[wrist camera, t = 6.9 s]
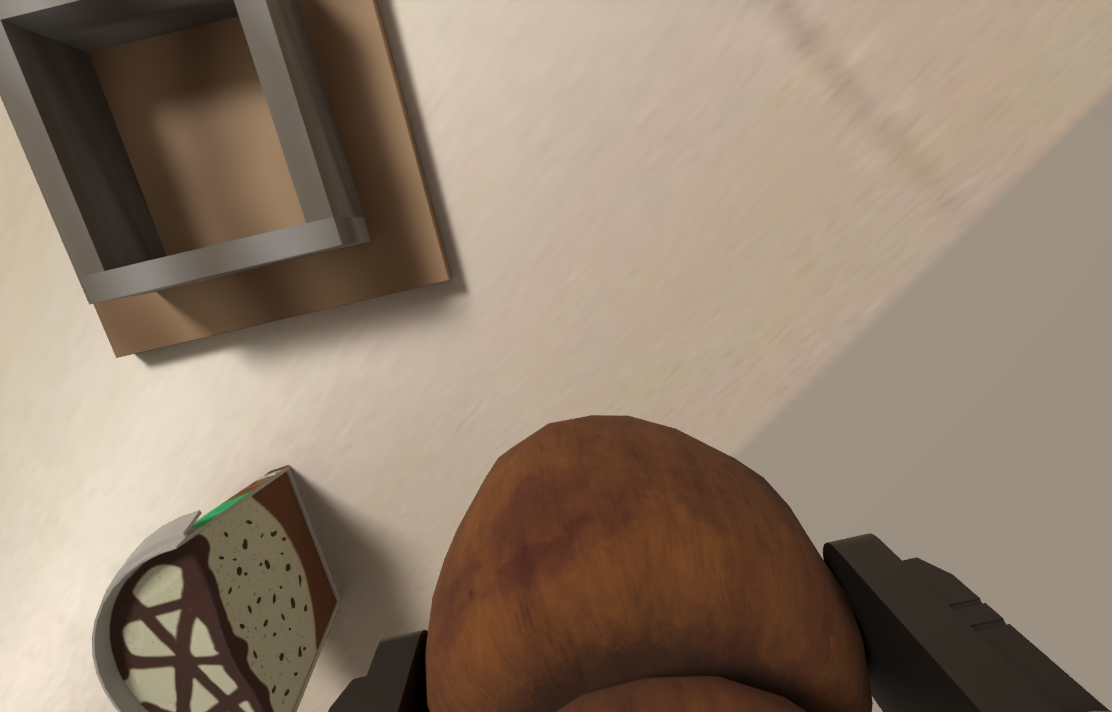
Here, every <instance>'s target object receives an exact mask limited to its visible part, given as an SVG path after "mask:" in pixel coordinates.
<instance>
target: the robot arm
mask: <svg viewBox="0 0 1112 712" xmlns="http://www.w3.org/2000/svg"><path fill="white" fill-rule="evenodd" d="M823 558H824V562H825V563H826V565H827V566H828V568H829V569H830V571H831V572H832V573H833V575H834V576H835V578H836V579H837V581H838V582H839V584H840V585H841V587H842V588H843V589H844V591H845V593H846V595H847V597H848V599H849V601H850V604H851V607H852V610H853V613H854V616H855V619H856V621H857V624H858V627H859V630H860V633H861V636H862V639H863V642H864V649H865V656H866V663H867V669H868V676H869V683H870V689H871V695H872V696H873V698H874V699H875V701H876V702H877V704H878V705H879V707H880V708H881V709H882V711H883V712H1111V711H1109V710H1108V709H1107V708H1106V707H1105V706H1103V705H1102V704H1101V703H1100V702H1099V701H1098V700H1096V699H1095V698H1094V697H1093V696H1092V695H1091V694H1090V693H1089V692H1087V691H1086V690H1085V689H1084V688H1083V687H1082V686H1080V685H1079V684H1078V683H1077V682H1076V681H1075V680H1074V679H1072V678H1071V677H1070V676H1069V675H1068V674H1067V673H1065V672H1064V671H1063V670H1062V669H1061V668H1060V667H1058V666H1057V665H1056V664H1055V663H1054V662H1052V661H1051V660H1050V659H1049V658H1048V657H1047V656H1046V655H1045V654H1044V653H1042V652H1041V651H1040V650H1039V649H1038V648H1036V647H1035V646H1034V645H1033V644H1032V643H1031V642H1029V640H1027V639H1026V638H1025V637H1024V636H1023V635H1022V634H1020V633H1019V632H1018V631H1017V630H1016V629H1015V628H1013V627H1012V626H1011V625H1010V624H1008V625H1006V623H1005V622H1004V620H1003V618H1002V617H1001V616H1000V615H999V614H997V613H996V612H995V611H994V610H993V609H992V608H991V607H989V606H988V605H987V604H986V603H984V604H983V603H982V602H981V600H980V598H979V597H978V596H977V595H976V594H974V593H973V592H972V591H971V590H970V589H969V588H967V587H966V586H965V585H964V584H963V583H962V582H961V581H959V580H958V579H957V578H956V577H955V576H954V575H952V574H950V573H948V572H946V571H944V570H942V569H940V568H938V567H936V566H934V565H931V564H929V563H927V562H925V561H923V560H921V559H919V558H912V559H908V560H903V561H902V560H901V559H900V558H899V557H898V556H896V555H895V554H894V553H893V552H892V551H891V550H890V549H889V548H888V547H887V546H886V545H885V544H884V543H883V542H882V541H881V540H880V539H879V538H877V537H876V536H875V535H873V534H865V535H860V536H856V537H851V538H847V539H842V540H837V541H833V542H828V543H825V544H824V547H823ZM427 636H428V631H427V630H422V631H418V632H413V633H409V634H404V635H400V636H395V637H391V638H386V639H383V640H382V641H381V642H380V643H379V645H378V647H377V650H376V653H375V655H374V658H373V661H372V663H371V666H370V669H369V671H368V674H367V676H365V677H361V678H356V679H353V680H352V681H351V682H350V684H349V685H348V686H347V687H346V689H345V690H344V691H343V692H342V693H341V695H340V696H339V697H338V698H337V700H336V701H335V702H334V703H333V705H332V706H331V707H330V709H329V711H328V712H429V709H428V706H427V691H426V676H425V660H424V659H425V651H426V644H427Z"/></svg>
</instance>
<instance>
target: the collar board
mask: <svg viewBox="0 0 1112 712" xmlns="http://www.w3.org/2000/svg"><path fill="white" fill-rule="evenodd" d="M0 96H1V99H2V101H3V103H4V106H5V108H6V110H7V113H8V115H9V117H10V120H11V122H12V124H13V127H14V129H15V131H16V134H17V136H18V138H19V141H20V143H21V145H22V148H23V150H24V152H25V155H26V157H27V159H28V162H29V164H30V166H31V169H32V171H33V174H34V176H35V178H36V181H37V183H38V185H39V188H40V190H41V192H42V195H43V197H44V199H45V202H46V204H47V206H48V209H49V211H50V213H51V216H52V218H53V220H54V223H55V225H56V227H57V230H58V232H59V234H60V237H61V239H62V241H63V244H64V246H65V248H66V251H67V253H68V255H69V258H70V260H71V262H72V265H73V267H74V270H75V272H76V274H77V277H78V279H79V281H80V284H81V286H82V288H83V291H84V293H85V295H86V298H87V300H88V302H89V304H94V306H95V309H96V311H97V313H98V316H99V318H100V320H101V323H102V325H103V327H104V330H105V332H106V335H107V337H108V339H109V342H110V344H111V346H112V349H113V351H114V353H115V356H116V358H118V357H122V356H127V355H131V354H135V353H139V352H144V351H148V350H152V349H157V348H161V347H165V346H169V345H174V344H178V343H182V342H186V341H191V340H195V339H199V338H204V337H208V336H212V335H216V334H221V333H225V332H229V331H233V330H238V329H242V328H246V327H251V326H255V325H259V324H263V323H268V322H272V321H276V320H280V319H285V318H289V317H293V316H297V315H302V314H306V313H310V312H315V311H319V310H323V309H327V308H332V307H336V306H340V305H344V304H349V303H353V302H357V301H362V300H366V299H370V298H374V297H379V296H383V295H387V294H391V293H396V292H400V291H404V290H409V289H413V288H417V287H421V286H426V285H430V284H434V283H438V282H443V281H447V280H450V279H451V278H452V276H451V273H450V269H449V265H448V262H447V258H446V254H445V251H444V247H443V243H442V240H441V236H440V232H439V228H438V225H437V221H436V217H435V214H434V210H433V206H432V203H431V199H430V195H429V192H428V188H427V184H426V181H425V177H424V173H423V169H422V166H421V162H420V158H419V155H418V151H417V147H416V144H415V140H414V136H413V133H412V129H411V125H410V122H409V118H408V114H407V110H406V107H405V103H404V99H403V96H402V92H401V88H400V85H399V81H398V77H397V74H396V70H395V66H394V63H393V59H392V55H391V51H390V48H389V44H388V40H387V37H386V33H385V29H384V26H383V22H382V18H381V15H380V11H379V7H378V4H377V0H0Z"/></svg>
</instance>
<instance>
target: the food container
mask: <svg viewBox="0 0 1112 712" xmlns="http://www.w3.org/2000/svg"><path fill="white" fill-rule="evenodd" d="M200 515H201V511H200V510H199V511H196V512H193V513H190V514H187V515H184V516H181V517H179V518H177V519H175V520H173V521H171V522H169V523H167V524H166V525H164V526H162V527H160V528H159V529H158V530H156V531H155V532H154V533H152V534H151V535H150V536H148V537H147V538H146V539H145V540H144V541H143V542H142V543H141V544H140V545H139V546H138V547H137V548H136V550H135V551H134V552H133V553H132V554H131V555H130V557H129V558H128V559H127V561H126V562H125V563H124V565H123V566H122V567H121V569H120V570H119V571H118V573H117V574H116V576H115V577H114V579H113V580H112V582H111V584H110V585H109V587H108V588H107V590H106V592H105V595H104V597H103V600H102V603H101V605H100V608H99V610H98V613H97V616H96V619H95V622H94V628H93V635H92V653H93V660H94V664H95V669H96V673H97V675H98V678H99V680H100V683H101V685H102V687H103V690H104V692H105V693H106V695H107V696H108V698H109V699H110V701H111V703H112V704H113V706H114V707H115V708H116V709H117V711H118V712H296V711H297V709H298V707H299V704H300V702H301V699H302V697H303V694H304V692H305V689H306V687H307V684H308V682H309V679H310V677H311V674H312V672H313V669H314V667H315V665H316V662H317V660H318V657H319V655H320V652H321V650H322V647H323V645H324V642H325V640H326V637H327V635H328V632H329V630H330V628H331V625H332V623H333V620H334V618H335V615H336V613H337V610H338V608H339V605H340V603H341V599H340V596H339V594H338V591H337V589H336V586H335V583H334V581H333V578H332V576H331V573H330V571H329V568H328V565H327V563H326V560H325V558H324V555H323V552H322V550H321V547H320V545H319V542H318V539H317V537H316V534H315V532H314V529H313V526H312V524H311V521H310V519H309V516H308V514H307V511H306V508H305V506H304V503H303V501H302V498H301V495H300V493H299V490H298V488H297V485H296V482H295V480H294V477H293V475H292V472H291V469H290V467H289V465H287V466H284V467H281V468H278V469H275V470H272V471H270V472H268V473H267V474H265V475H264V476H262V477H261V478H260V479H258V480H257V481H255V482H254V483H252V484H251V485H249V486H248V487H246V488H245V489H243V490H242V491H240V492H239V493H237V494H236V495H234V496H233V497H231V498H230V499H228V500H227V501H225V502H224V503H223V504H221V505H220V506H218V507H217V508H215V509H214V510H212V511H211V512H209V513H208V514H206V515H205V516H203V517H202V518H200V519H199V520H197V519H198V517H199V516H200ZM196 520H197V521H196Z"/></svg>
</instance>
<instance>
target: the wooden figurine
mask: <svg viewBox="0 0 1112 712" xmlns="http://www.w3.org/2000/svg"><path fill="white" fill-rule="evenodd" d="M424 660H425V676H426V691H427V706H428V709H429V712H872V704H873V703H872V696H871V689H870V683H869V676H868V669H867V663H866V656H865V649H864V642H863V639H862V636H861V633H860V630H859V627H858V624H857V621H856V619H855V616H854V613H853V610H852V607H851V604H850V601H849V599H848V597H847V595H846V593H845V591H844V589H843V588H842V587H841V585H840V584H839V582H838V581H837V579H836V578H835V576H834V575H833V573H832V572H831V571H830V569H829V568H828V566H827V565H826V563H825V562H824V560H823V559H822V557H821V556H820V554H819V553H818V551H817V550H816V548H815V546H814V545H813V543H812V542H811V540H810V538H809V537H808V535H807V534H806V532H805V531H804V529H803V527H802V526H801V524H800V523H799V521H798V519H797V518H796V516H795V515H794V513H793V511H792V510H791V508H790V507H789V505H788V504H787V503H786V502H785V501H784V500H783V499H782V498H781V496H780V495H779V494H778V493H777V492H776V491H775V490H774V489H773V488H772V486H771V485H770V484H769V483H768V482H767V481H766V480H765V479H764V478H763V477H762V476H760V475H759V474H757V473H756V472H754V471H753V470H751V469H750V468H748V467H747V466H745V465H744V464H742V463H741V462H739V461H738V460H736V459H735V458H733V457H731V456H729V455H727V454H725V453H723V452H721V451H719V450H717V449H715V448H713V447H711V446H709V445H707V444H705V443H703V442H701V441H699V440H697V439H695V438H693V437H691V436H689V435H687V434H685V433H683V432H681V431H679V430H677V429H674V428H671V427H667V426H664V425H660V424H656V423H653V422H649V421H645V420H642V419H638V418H634V417H631V416H598V415H591V416H586V417H581V418H576V419H570V420H565V421H560V422H554V423H549V424H547V425H546V426H544V427H543V428H541V429H540V430H538V431H537V432H535V433H534V434H532V435H531V436H529V437H528V438H526V439H525V440H523V441H521V442H520V443H518V444H517V445H515V446H514V447H512V448H511V449H510V450H508V451H507V452H506V453H504V454H503V455H502V456H500V457H499V458H498V459H497V461H496V462H495V464H494V465H493V467H492V468H491V470H490V472H489V473H488V475H487V476H486V478H485V480H484V481H483V483H482V485H481V487H480V489H479V490H478V492H477V494H476V496H475V498H474V500H473V501H472V503H471V505H470V507H469V509H468V511H467V512H466V514H465V516H464V518H463V520H462V521H461V523H460V525H459V527H458V529H457V531H456V533H455V536H454V538H453V541H452V543H451V545H450V548H449V550H448V552H447V555H446V557H445V559H444V562H443V566H442V569H441V572H440V575H439V578H438V582H437V585H436V588H435V591H434V594H433V598H432V606H431V613H430V621H429V629H428V636H427V644H426V651H425V659H424Z"/></svg>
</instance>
